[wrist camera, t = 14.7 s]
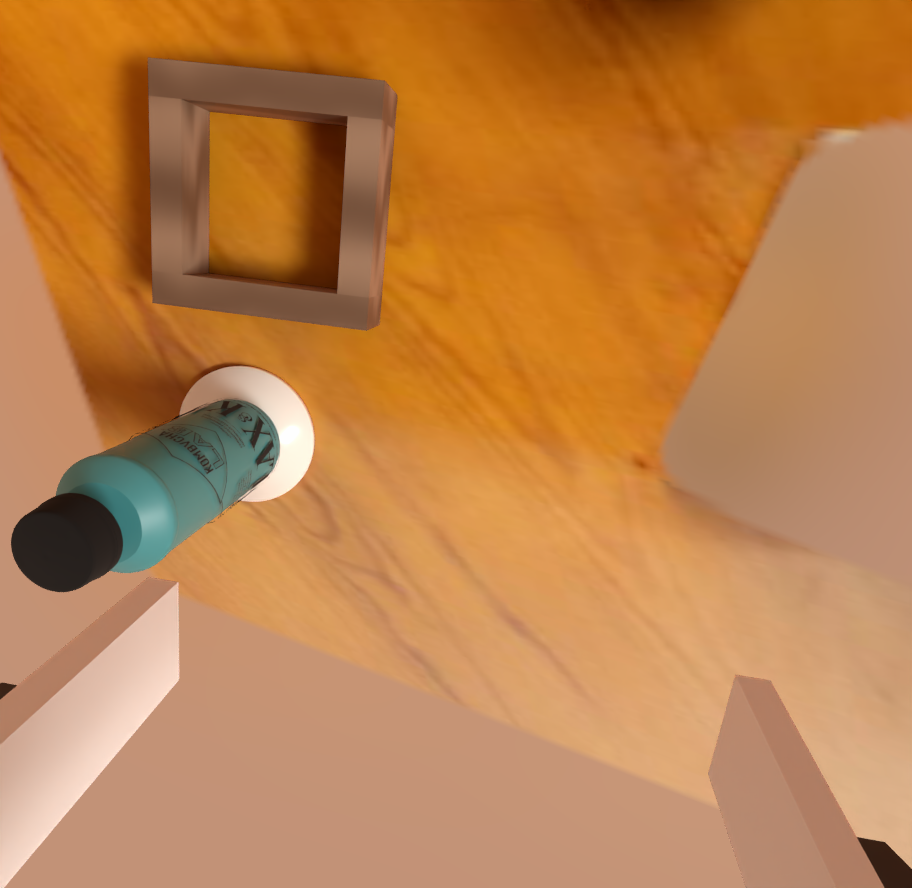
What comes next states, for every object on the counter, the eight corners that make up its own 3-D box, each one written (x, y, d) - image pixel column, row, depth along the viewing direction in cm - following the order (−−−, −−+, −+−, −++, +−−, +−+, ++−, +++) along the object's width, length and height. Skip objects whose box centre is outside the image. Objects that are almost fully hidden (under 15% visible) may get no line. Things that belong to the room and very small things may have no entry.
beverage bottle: (276, 492, 48) (104, 647, 29) (192, 456, 48) (-35, 588, 29) (303, 412, 46) (139, 522, 27) (216, 374, 46) (-10, 458, 27)
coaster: (181, 356, 47) (177, 357, 46) (318, 375, 46) (316, 376, 45) (182, 488, 49) (178, 490, 49) (311, 508, 49) (309, 510, 48)
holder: (179, 73, 41) (147, 57, 38) (397, 95, 40) (384, 80, 37) (180, 299, 45) (152, 302, 42) (379, 324, 44) (366, 330, 41)
